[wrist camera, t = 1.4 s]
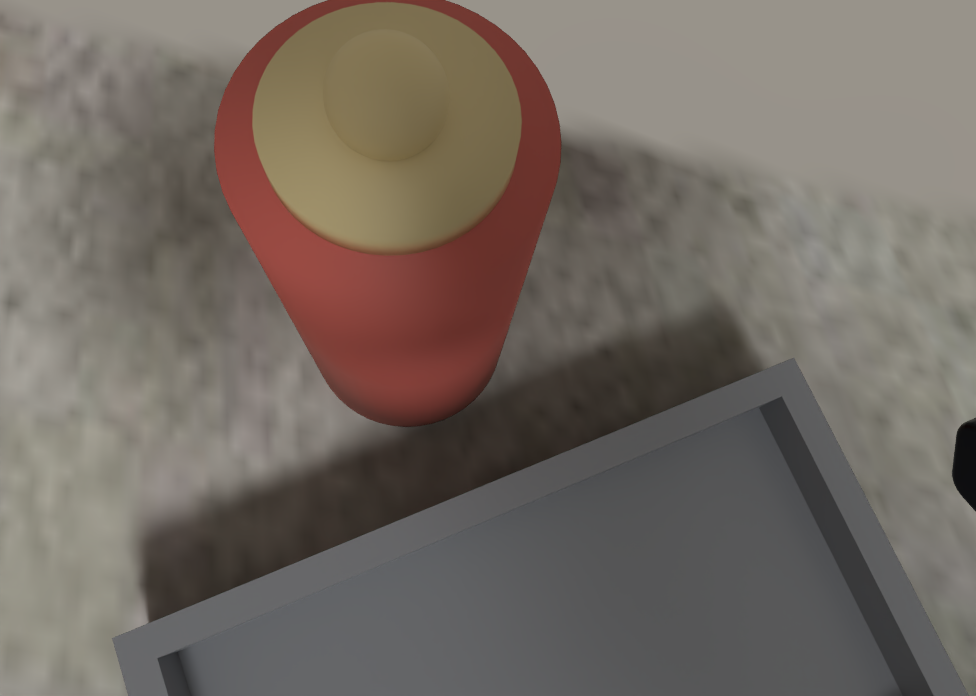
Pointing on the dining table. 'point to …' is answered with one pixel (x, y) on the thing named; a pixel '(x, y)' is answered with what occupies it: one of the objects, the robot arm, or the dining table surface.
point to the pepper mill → (392, 192)
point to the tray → (592, 580)
